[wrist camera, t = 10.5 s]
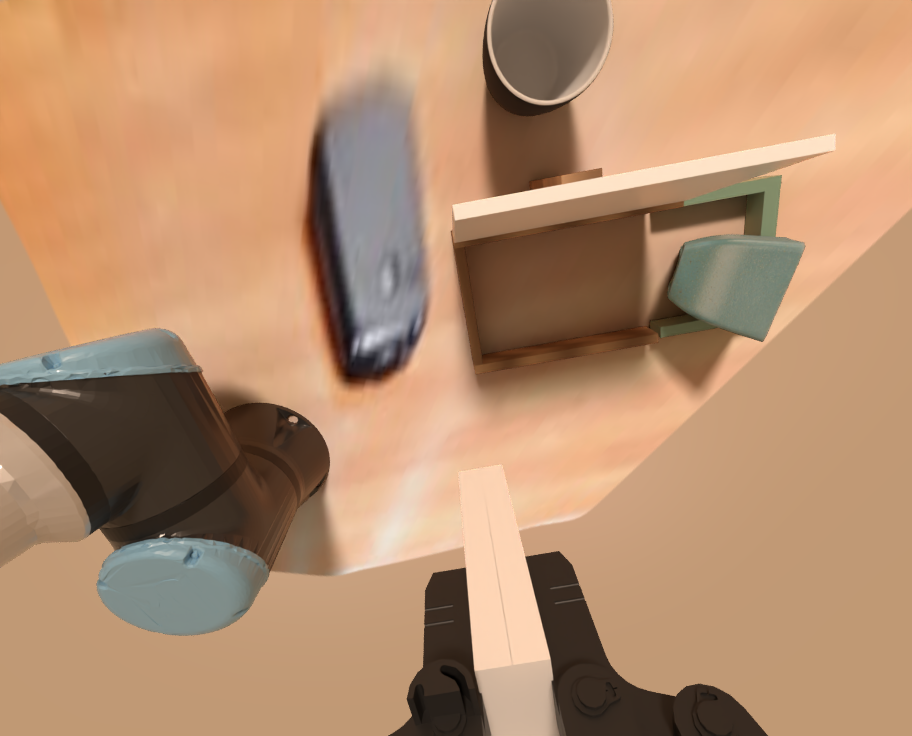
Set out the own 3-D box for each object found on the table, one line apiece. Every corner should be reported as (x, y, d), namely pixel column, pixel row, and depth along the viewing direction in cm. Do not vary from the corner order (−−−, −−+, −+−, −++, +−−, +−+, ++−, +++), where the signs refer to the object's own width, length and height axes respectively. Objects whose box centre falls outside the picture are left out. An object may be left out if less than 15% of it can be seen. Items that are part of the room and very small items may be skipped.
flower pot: (662, 304, 49) (751, 322, 46) (658, 320, 42) (764, 344, 38) (687, 224, 46) (786, 237, 42) (687, 227, 38) (807, 243, 35)
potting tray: (650, 331, 49) (660, 337, 46) (649, 197, 43) (661, 197, 41) (751, 313, 48) (766, 319, 46) (763, 176, 43) (781, 175, 41)
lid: (455, 220, 23) (452, 204, 23) (454, 243, 37) (452, 233, 37) (835, 150, 22) (835, 133, 22) (685, 200, 36) (685, 190, 36)
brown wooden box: (473, 364, 49) (479, 391, 43) (450, 230, 44) (453, 236, 37) (645, 334, 49) (680, 356, 42) (644, 195, 43) (684, 194, 36)
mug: (587, 94, 40) (633, 62, 31) (502, 146, 41) (520, 130, 32) (532, -52, 36) (565, -141, 26) (440, 11, 37) (440, -52, 28)
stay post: (530, 197, 43) (562, 197, 32) (529, 181, 43) (561, 175, 31) (560, 192, 43) (602, 189, 32) (559, 176, 42) (602, 167, 31)
